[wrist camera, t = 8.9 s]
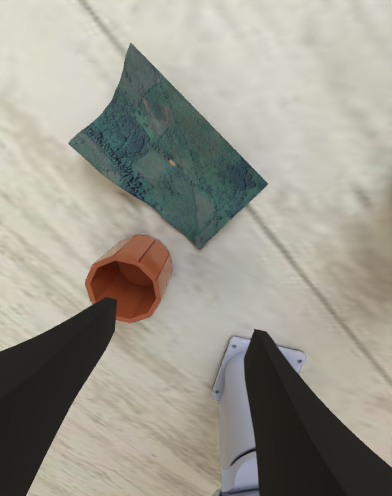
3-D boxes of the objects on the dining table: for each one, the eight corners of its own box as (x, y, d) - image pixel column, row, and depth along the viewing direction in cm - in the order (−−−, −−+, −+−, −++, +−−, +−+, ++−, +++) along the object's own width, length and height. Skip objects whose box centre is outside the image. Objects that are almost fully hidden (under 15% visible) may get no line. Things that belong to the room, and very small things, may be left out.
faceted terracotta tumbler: (168, 292, 21) (155, 329, 17) (113, 279, 21) (83, 313, 17) (178, 241, 20) (167, 267, 15) (117, 228, 20) (85, 248, 15)
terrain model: (265, 182, 17) (270, 185, 15) (199, 248, 20) (197, 257, 18) (135, 49, 15) (124, 34, 13) (80, 144, 17) (65, 143, 16)
